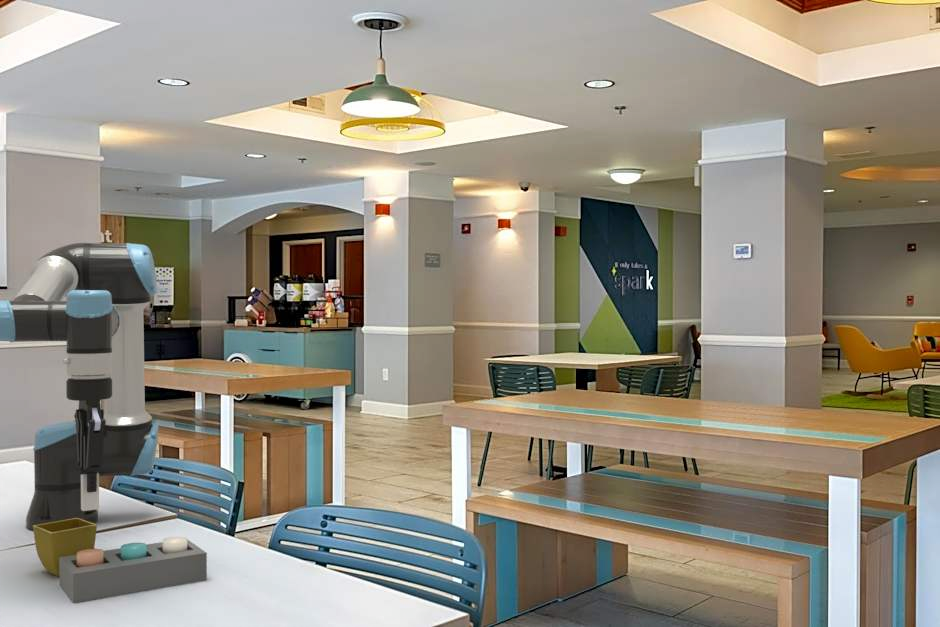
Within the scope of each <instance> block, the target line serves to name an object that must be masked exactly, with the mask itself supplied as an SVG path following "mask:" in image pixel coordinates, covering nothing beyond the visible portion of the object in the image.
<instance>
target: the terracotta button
mask: <svg viewBox="0 0 940 627" xmlns="http://www.w3.org/2000/svg"><path fill="white" fill-rule="evenodd" d="M103 551H104V550H103V549H102V548H94V549H86V550H82V551H79V552H77V568H79V567H85V566H91V565H98V564H104V559H103Z"/></svg>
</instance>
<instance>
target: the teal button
mask: <svg viewBox="0 0 940 627" xmlns="http://www.w3.org/2000/svg"><path fill="white" fill-rule="evenodd" d="M146 545H147V543H146V542H129V543H125V544H122V545H121V546H120V548H121V561H124V560H130V559H137V558H143V557H146Z"/></svg>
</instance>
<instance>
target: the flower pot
mask: <svg viewBox="0 0 940 627" xmlns="http://www.w3.org/2000/svg"><path fill="white" fill-rule="evenodd" d="M97 527H98V524H96V523H91V522H88V521H85V520H83V519H80V518H73V519H67V520H62V521H56V522H50V523H45V524H39V525H33V530H32V531H33V536H34V537H33V539H34V542H35V550H36V553H37V557H38V558H39V560H40V563H41V565H42V566H43V568H44V570H46V571H47V572H48V573H50V574H53V575H54V576H57V577H59V557H65V556H72V555H77V552H79V551H82V550H86V549H95V543H96V537H97V536H96V535H97Z"/></svg>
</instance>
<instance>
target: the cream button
mask: <svg viewBox="0 0 940 627" xmlns="http://www.w3.org/2000/svg"><path fill="white" fill-rule="evenodd" d="M187 539H188V538H187V537H186V536H170V537H169V536H168V537H167V538H164V539H162V542H163V554H169V553H175V552H182V551H187Z"/></svg>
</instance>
